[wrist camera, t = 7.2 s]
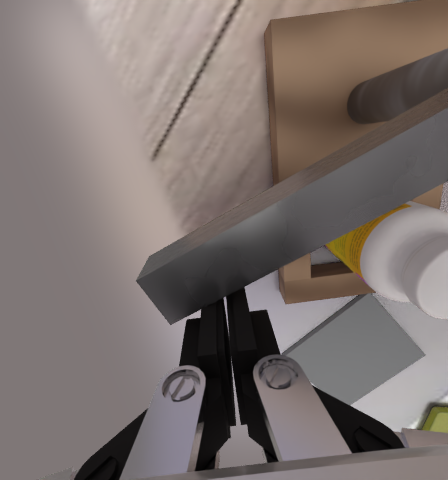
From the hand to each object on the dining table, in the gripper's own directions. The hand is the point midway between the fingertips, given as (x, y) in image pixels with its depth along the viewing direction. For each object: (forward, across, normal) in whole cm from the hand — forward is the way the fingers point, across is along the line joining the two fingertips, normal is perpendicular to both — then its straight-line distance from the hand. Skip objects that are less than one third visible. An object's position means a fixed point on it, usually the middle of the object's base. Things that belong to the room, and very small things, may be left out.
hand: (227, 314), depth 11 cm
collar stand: (+16, -12, -3) cm, 20 cm away
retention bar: (0, -6, -5) cm, 8 cm away
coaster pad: (+16, -13, +18) cm, 28 cm away
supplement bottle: (+16, -12, +2) cm, 20 cm away
